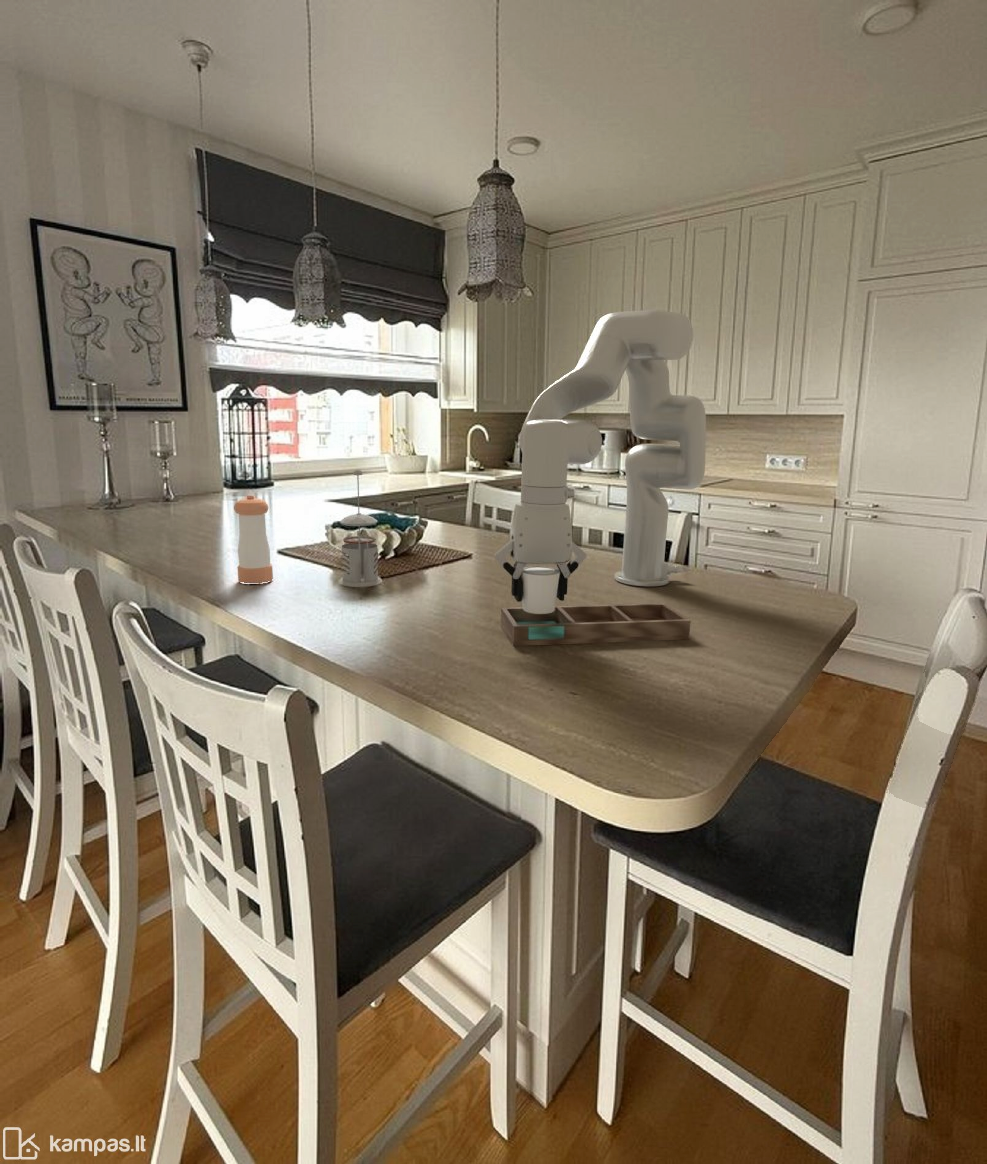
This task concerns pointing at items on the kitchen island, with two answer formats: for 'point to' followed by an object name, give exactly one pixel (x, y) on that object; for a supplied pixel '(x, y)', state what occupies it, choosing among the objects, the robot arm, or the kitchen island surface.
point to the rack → (595, 624)
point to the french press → (359, 552)
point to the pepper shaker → (253, 541)
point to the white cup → (539, 589)
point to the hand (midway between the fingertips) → (538, 598)
